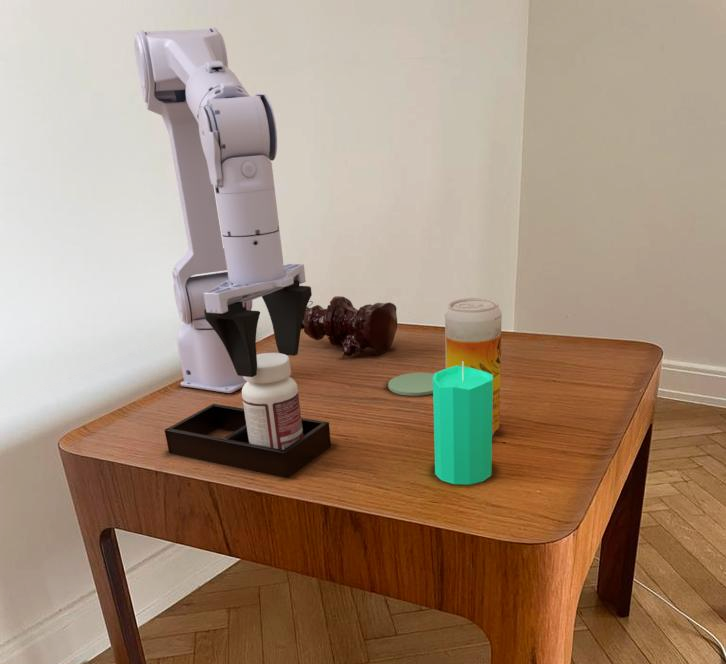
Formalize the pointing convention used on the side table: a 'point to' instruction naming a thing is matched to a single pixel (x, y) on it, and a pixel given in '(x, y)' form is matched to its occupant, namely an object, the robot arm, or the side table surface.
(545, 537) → the side table surface
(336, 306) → the figurine
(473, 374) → the candle
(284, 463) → the tray
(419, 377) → the mat
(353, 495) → the side table surface
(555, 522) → the side table surface
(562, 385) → the side table surface
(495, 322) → the beer can
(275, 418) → the pill bottle
